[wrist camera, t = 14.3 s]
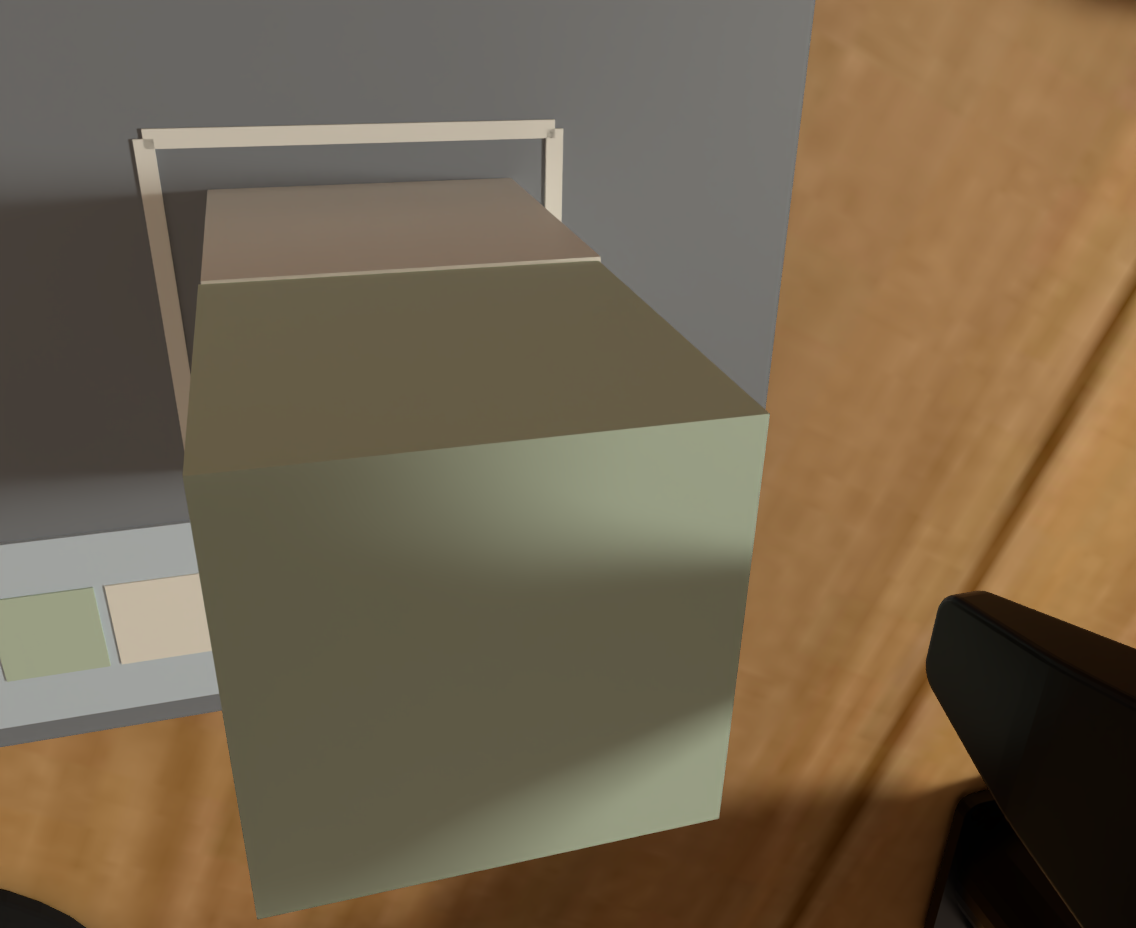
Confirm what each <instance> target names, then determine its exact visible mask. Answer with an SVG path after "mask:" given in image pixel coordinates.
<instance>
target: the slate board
mask: <svg viewBox="0 0 1136 928" xmlns="http://www.w3.org/2000/svg"><path fill="white" fill-rule="evenodd" d="M814 7H815V0H0V747H4V746H10V745H17V744H23V743H29V742H35V741H41V740H47V739H53V738H59V737H65V736H71V735H77V734H83V733H89V732H95V731H101V730H107V729H113V728H119V727H125V726H131V725H137V724H143V723H149V722H155V721H161V720H167V719H173V718H179V717H185V716H191V715H197V714H203V713H209V712H215V711H221V710H222V707H221V701H220V695H219V689H218V683H217V678H216V672H215V666H214V660H213V654H212V648H211V642H210V636H209V630H208V624H207V618H206V612H205V607H204V601H203V595H202V589H201V583H200V577H199V571H198V565H197V559H196V553H195V547H194V541H193V536H192V530H191V524H190V518H189V512H188V506H187V500H186V494H185V488H184V482H183V464H184V452H185V440H186V428H187V415H188V403H189V391H190V379H191V367H192V354H193V342H194V330H195V318H196V306H197V293H198V285H199V284H201V268H202V255H203V242H204V229H205V215H206V202H207V190H213V189H238V188H264V187H290V186H315V185H341V184H367V183H392V182H418V181H444V180H469V179H495V178H512V179H513V180H514V181H515V182H516V183H517V184H519V185H520V186H521V187H522V188H523V189H524V190H525V191H527V192H528V193H529V194H530V195H531V196H532V197H533V198H535V199H536V200H537V201H538V202H539V203H540V204H541V205H542V206H544V207H545V208H546V209H547V210H548V211H549V212H550V213H552V214H553V215H554V216H555V217H556V218H557V219H558V220H560V221H561V222H562V223H563V224H564V225H565V226H566V227H568V228H569V229H570V230H571V231H572V232H573V233H574V234H575V235H577V236H578V237H579V238H580V239H581V240H582V241H583V242H585V243H586V244H587V245H588V246H589V247H590V248H591V249H593V250H594V251H595V252H596V253H597V254H598V255H599V256H601V263H602V264H603V265H604V266H605V267H606V268H607V269H609V270H610V271H611V272H612V273H613V274H614V275H615V276H616V277H617V278H619V279H620V280H621V281H622V282H623V283H624V284H625V285H626V286H628V287H629V288H630V289H631V290H632V291H633V292H634V293H635V294H636V295H638V296H639V297H640V298H641V299H642V300H643V301H644V302H645V303H647V304H648V305H649V306H650V307H651V308H652V309H653V310H654V311H655V312H657V313H658V314H659V315H660V316H661V317H662V318H663V319H664V320H666V321H667V322H668V323H669V324H670V325H671V326H672V327H673V328H675V329H676V330H677V331H678V332H679V333H680V334H681V335H682V336H683V337H685V338H686V339H687V340H688V341H689V342H690V343H691V344H692V345H694V346H695V347H696V348H697V349H698V350H699V351H700V352H701V353H702V354H704V355H705V356H706V357H707V358H708V359H709V360H710V361H711V362H713V363H714V364H715V365H716V366H717V367H718V368H719V369H720V370H721V371H723V372H724V373H725V374H726V375H727V376H728V377H729V378H730V379H732V380H733V381H734V382H735V383H736V384H737V385H738V386H739V387H740V388H742V389H743V390H744V391H745V392H746V393H747V394H748V395H749V396H751V397H752V398H753V399H754V400H755V401H756V402H757V403H758V404H760V405H761V406H762V407H763V408H764V409H765V408H766V400H767V391H768V383H769V375H770V367H771V359H772V351H773V342H774V334H775V326H776V318H777V310H778V301H779V293H780V285H781V277H782V269H783V261H784V252H785V244H786V236H787V228H788V220H789V211H790V203H791V195H792V187H793V179H794V170H795V162H796V154H797V146H798V138H799V130H800V121H801V113H802V105H803V97H804V89H805V80H806V72H807V64H808V56H809V48H810V40H811V31H812V23H813V15H814Z"/></svg>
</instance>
